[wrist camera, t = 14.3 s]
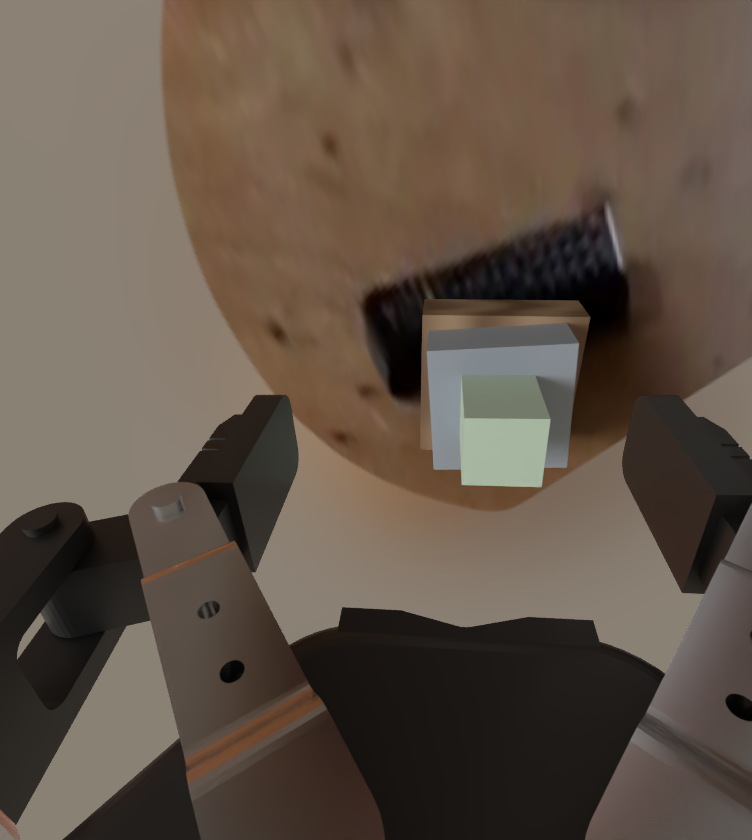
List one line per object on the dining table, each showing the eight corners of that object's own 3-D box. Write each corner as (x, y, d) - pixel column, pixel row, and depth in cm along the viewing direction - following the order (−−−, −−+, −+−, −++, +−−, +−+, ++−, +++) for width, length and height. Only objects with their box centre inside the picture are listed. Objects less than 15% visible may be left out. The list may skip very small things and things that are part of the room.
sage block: (535, 375, 35) (550, 419, 30) (528, 436, 37) (541, 487, 32) (461, 375, 36) (464, 418, 30) (459, 435, 38) (461, 484, 33)
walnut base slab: (576, 298, 40) (590, 317, 36) (554, 427, 46) (563, 455, 43) (424, 296, 42) (422, 314, 38) (422, 422, 48) (419, 449, 44)
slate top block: (566, 322, 37) (579, 343, 33) (556, 439, 42) (566, 467, 38) (428, 330, 38) (426, 351, 35) (434, 442, 43) (433, 469, 40)
